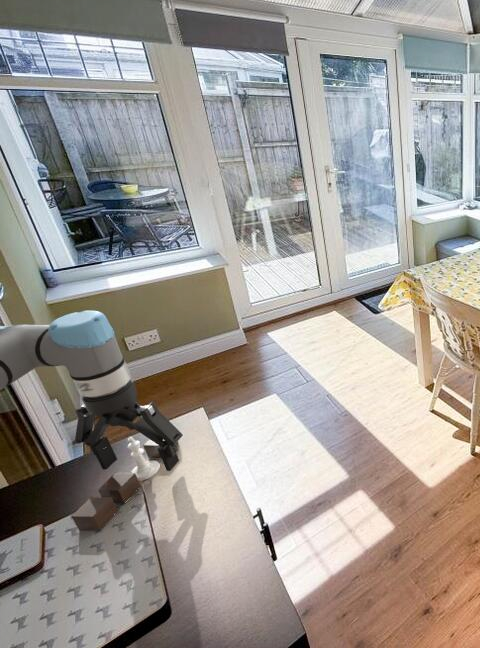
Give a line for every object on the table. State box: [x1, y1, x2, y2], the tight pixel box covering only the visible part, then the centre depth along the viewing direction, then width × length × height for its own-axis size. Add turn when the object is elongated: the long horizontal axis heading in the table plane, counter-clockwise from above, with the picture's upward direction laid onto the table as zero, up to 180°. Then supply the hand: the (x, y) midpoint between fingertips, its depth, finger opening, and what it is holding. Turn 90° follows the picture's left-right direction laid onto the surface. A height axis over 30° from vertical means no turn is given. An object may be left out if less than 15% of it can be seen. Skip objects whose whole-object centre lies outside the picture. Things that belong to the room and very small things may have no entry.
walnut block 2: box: [97, 472, 142, 505], centre depth 84 cm, size 4×4×4 cm
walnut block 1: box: [70, 496, 119, 532], centre depth 79 cm, size 4×4×4 cm
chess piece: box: [127, 436, 161, 482], centre depth 88 cm, size 5×5×10 cm
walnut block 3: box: [142, 438, 180, 460], centre depth 94 cm, size 4×4×4 cm
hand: (141, 465), depth 89 cm, fingers open, 13 cm apart
